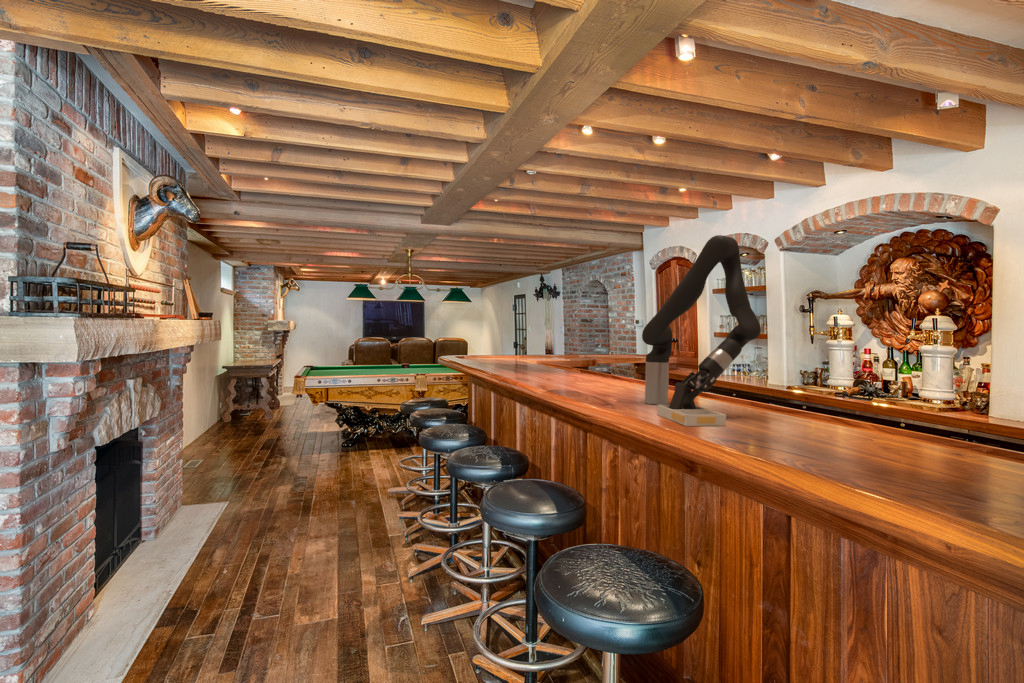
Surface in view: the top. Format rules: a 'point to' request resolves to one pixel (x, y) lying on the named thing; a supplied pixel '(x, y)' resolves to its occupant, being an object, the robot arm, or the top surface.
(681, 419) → the tray
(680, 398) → the door stopper
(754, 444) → the top surface
